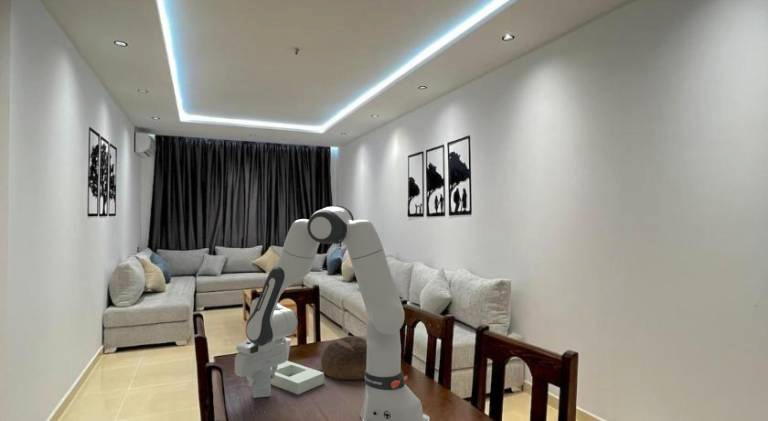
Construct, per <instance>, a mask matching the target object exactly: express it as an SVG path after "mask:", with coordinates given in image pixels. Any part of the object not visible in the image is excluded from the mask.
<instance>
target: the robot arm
mask: <svg viewBox="0 0 768 421" xmlns="http://www.w3.org/2000/svg"><path fill="white" fill-rule="evenodd" d="M320 244H336V245H337V244H338V245H339V244H343V245H344V246H345V248H346V249H347V253H348V256H349V260H350V262H351V265H352V268H353V272H354V275H355V278H356V281H357V284H358V289H359V290H360V293H361V297H362V301H363V304H364V307H365V322H366V323H365V325H366V326H365V327H366V331H365V332H366V334H365V335H366V339H367V359H366V370H365V379H364V383H365V388H364V395H363V402H362V407H361V411H360V413H359V416H360V418H361V420H362V421H430V419H431V418H430V416H429V415H428V414H426V413H424V412H423V405H422V402H421V400H420V398H418V396H416V394H415V393H414V392H413V391H412V390H411V389H410V388H409V387H408V386H407V385H406V381H407V380H408V375H405V376H404V374H403V371H402V370H401V366H402V365H401V360H402V357H401V356H402V355H401V354H402V344H401V334H400V333H401V331H400V330H401V328H402V327H403V325H404V320H405V310H404V306H403V304H402V301H401V298H400V295H399V292H398V289H397V287H396V284H395V281H394V277H393V276H392V275H393V274H392V273H391V269H390V267H389V262H388V260H387V256H386V253H385V250H384V247H383V244H382V242H381V238H380V236H379V234H378V232H377V230H376V227H375V226H374V224H373V223H372V222H371V221H370V220H368V219H356V220H355V219H354V216H353V213H352V212H351V211H350V210H349V209H348V208H347V207H344V206H341V205H333V206H326V207H324V208H321V209H319V210H316V211H315V212H313V213H312V214H311V216H310V217H309V219H306V218H301V219H297V220H295V221H294V222H292V224H291V225H290V228H289V230H288V232H287V234H286V237H285V240H284V244H283V247H282V251H281V253H280V256H279V259H278V260H277V262H276V264H275V266H274V267H273V268H272V269H271V271H270V272H269V273H268V275H267V277H266V280H265V281H264V284H263V286H262V290H261V292H260V295H259V297H256V298H253V300H251V304H250V310H249V318H248V320H247V321H246V326H245V334H246V335H245V336H246V337H247V338H246V339H245V340H243V341H242V342H241V343H238V345H236V349H235V350H236V352H237V354H236V355H235V357H234V358H235V359H234V374H235V375H236V376H238V377H241V378H243V377H246V379H247V380H248V386H249V387H253V386H254V385H255V380H253V373H256V372H259V371H262V370H263V363H264V362H267V361H270V360H271V367H272V369H271V379H273V378H275V372H276V370H277V368H278V365H279V364H282V363H285V362H286V360H287V349H286V340H285V339H284V337H286V338H287V337H288V336H291V335H292V334H294V333H295V332H296V331H297V328H298V325H299V320H298V319H299V318H298V315H297V313H296V312H295V311H294V310H293V309H292V308H290V307H286V306H284V305H282V304H281V303H279V300H280V297H281V296H282V294H283V292H285V290H286V289H287V288H289V287H290V286H292V285H293V284H295V283H297V282H298V281H300V280H302V279H304V278H305V277H306V276H308V275H309V274H310V273H311V270H312V269H313V266H314V264H315V260H316V256H317V253H318V249H319V246H320Z"/></svg>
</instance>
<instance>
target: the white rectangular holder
mask: <svg viewBox="0 0 768 421" xmlns="http://www.w3.org/2000/svg"><path fill="white" fill-rule="evenodd" d="M271 369H272V367H271ZM323 384H325V373H324V372H323V371H319V370H317V369H314V368H310V367H307V366H304V365H302V364H299V363H295V362H292V361H290V360H288V361H287V360H286V362H285V363H282V364H279V365H278V368H277V370H276V372H275V378H273V379H271V386H275V387H277V388H280V389H283V390H285V391H287V392H290V393H293V394H295V395H301V394H303V393H305V392H308V391H310V390H311V389H314V388H317V387H318V386H321V385H323Z"/></svg>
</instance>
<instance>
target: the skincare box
mask: <svg viewBox="0 0 768 421" xmlns="http://www.w3.org/2000/svg"><path fill="white" fill-rule="evenodd" d="M252 379H253V380H255V385H254V386H252V397H253V399H256V398H266V397H271V395H272V390H271V389H272V384H271V360H270V361H267V362H264V363H263V370H262V371H259V372H256V373H253V376H252Z"/></svg>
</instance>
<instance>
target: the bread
mask: <svg viewBox="0 0 768 421" xmlns="http://www.w3.org/2000/svg"><path fill="white" fill-rule="evenodd" d="M366 359H367V338H364V337H359V336H356V335H354V336H344V337H341V338H337V339H336V340H334V341H332V342H330V343H329V344H328V345H326V347H325V348H324V349H323V351H322V354H321V357H320V366H321V369H322V372H323V373H324V375H326V376H328V377H330V378H333V379H336V380H343V381H356V380H357V381H358V380H365V370H366Z"/></svg>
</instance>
